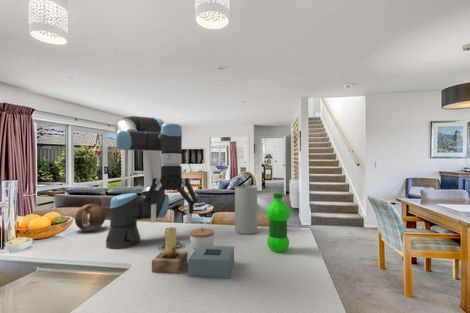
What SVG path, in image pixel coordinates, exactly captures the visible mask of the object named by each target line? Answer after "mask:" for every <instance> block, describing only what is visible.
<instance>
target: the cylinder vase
mask: <svg viewBox="0 0 470 313" xmlns="http://www.w3.org/2000/svg"><path fill="white" fill-rule="evenodd" d="M234 231H235V233H237V234H240V235H254V234H257V232H258V187H257V186H253V185H239V186H235V187H234Z"/></svg>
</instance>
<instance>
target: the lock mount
mask: <svg viewBox="0 0 470 313" xmlns="http://www.w3.org/2000/svg"><path fill="white" fill-rule="evenodd" d="M188 255H189V254H188V251H184V250H183V251H181V250H176V258H175V259H167V258H165V250H162V251H161V252H159V254H158V255H156V256H155V257H154V258H153V259H152V260H151V272H152V273H167V274H170V273H171V274H180V273H181V271H182V270H183V269H184V268H185V266H186V265H187V264H188V263H189V257H188Z"/></svg>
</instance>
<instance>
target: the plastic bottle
mask: <svg viewBox="0 0 470 313" xmlns="http://www.w3.org/2000/svg"><path fill="white" fill-rule="evenodd" d="M272 195H273V196H272V197H273V199H274V200H273V202H272V203H271V204H269V205H268V206H267V208H266V217H267V219H268V220H269V234H268V237H267V242H266V243H267V247H268V248H269V249H270V250H272V251H273V253H283V252H285V251H286V250H287V249H288V248H289V247H290V241H289V237H288V220H289V219H290V217H291V212H290V208H289V206H287V205H286V203H284V202H283V198H284V196H283V195H284V193H283V192H282V193H281V192H274V193H273V194H272Z"/></svg>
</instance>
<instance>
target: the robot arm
mask: <svg viewBox="0 0 470 313" xmlns="http://www.w3.org/2000/svg"><path fill="white" fill-rule="evenodd" d="M114 130H115V133H116V136H115V138H116V139H115V146H116V149H117V150H120V151H121V150H122V151H142V154H143V156H142V158H143V190H142V191H140V195H138V193H136V192H130V193H129V192H128V193H122V194H118V195H115V196H113V197H112V198H111V199H110V206H109V209H110V220H109V222H110V223H109V224H110V225H109V231H108V234H107V236H106V239H105V247H106V248H108V249H125V248H127V249H128V248H131V247H133V246H137V245H139V244H140V243H141V235H140V232H139V229H138V228H139V227H138V226H137V225H138V223H137V222H138V221H142V220H150V223H155V222H157V219H160V218H164V217H165V216H166V215H167V214H168V211H169V205H170V198H169V194H168V193H166V191H177V192H178V193H179V194H180V196H182V198H183V199H184V200H185V201H186V202H187V205H186V224H190V223H191V222H192V214H194V205H195V204H197V203H199V199H198V196H197V194H196V193H195V190H194V188H193V186H192V184H191V178H190V177H186V178H183V177H182V176H183V175H182V164H183V163H182V161H183V160H182V159H183V158H182V156H183V155H182V153H183V152H182V148H183V146H182V145H183V144H182V143H183V142H182V139H183V138H182V137H183V133H182V126H181V125H180V124H179V123H178V124H176V123H164V120H162V119H161V118H158V117H148V116H147V117H145V116H136V115H131V116H125V117H122V118H120V119H118V120H117V121H116V123H115V125H114ZM182 183H183V184H184V185H185V187H186V190H187V191H186V190H185V189H184V187H183V186H182ZM187 192H188V193H187ZM189 195H190V196H189Z"/></svg>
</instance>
